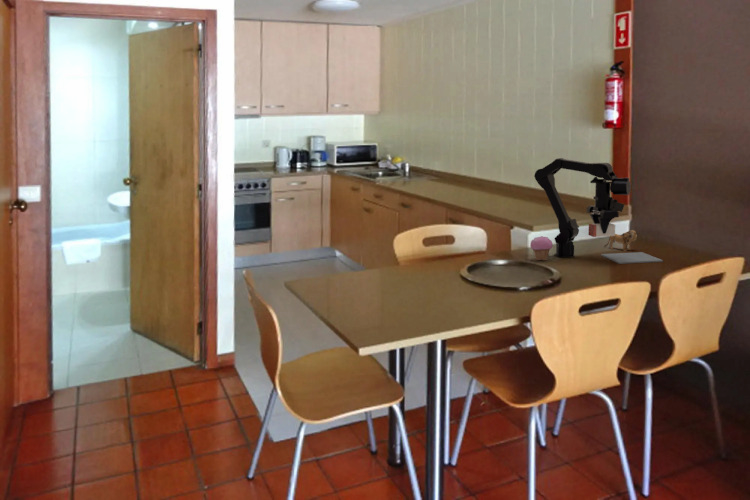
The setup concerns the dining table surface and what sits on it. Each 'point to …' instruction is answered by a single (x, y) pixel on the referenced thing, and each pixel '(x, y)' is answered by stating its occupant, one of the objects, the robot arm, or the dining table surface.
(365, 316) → the dining table surface
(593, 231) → the beige rectangular block
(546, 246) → the cupcake
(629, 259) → the mat
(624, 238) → the lion figurine
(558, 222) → the robot arm
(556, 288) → the dining table surface
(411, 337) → the dining table surface
